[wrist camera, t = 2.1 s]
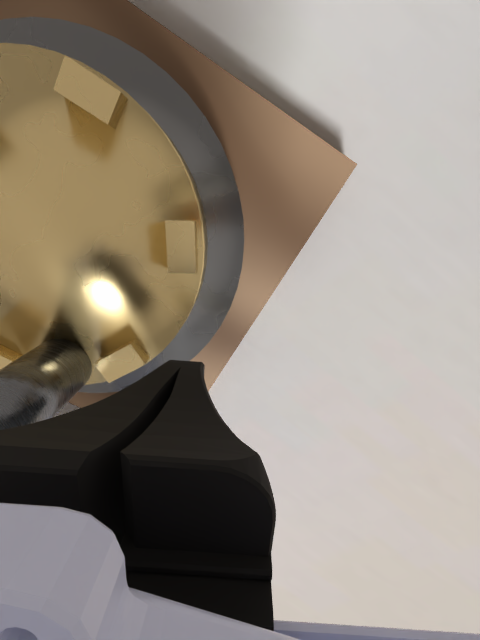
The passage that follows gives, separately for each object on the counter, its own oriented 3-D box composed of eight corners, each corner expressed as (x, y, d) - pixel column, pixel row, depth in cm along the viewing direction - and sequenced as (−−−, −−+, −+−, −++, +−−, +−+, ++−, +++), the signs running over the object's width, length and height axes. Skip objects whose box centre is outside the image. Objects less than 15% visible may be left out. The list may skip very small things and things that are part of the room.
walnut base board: (174, 434, 20) (169, 450, 18) (-113, 291, 17) (-146, 298, 16) (346, 169, 15) (357, 164, 13) (-25, -93, 12) (-61, -134, 11)
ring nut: (134, 409, 15) (59, 538, 9) (-112, 287, 14) (-408, 346, 7) (263, 186, 12) (281, 155, 6) (-43, -17, 10) (-480, -368, 4)
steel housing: (157, 421, 18) (150, 439, 16) (-109, 289, 16) (-146, 296, 14) (308, 177, 14) (315, 172, 12) (-30, -55, 11) (-69, -93, 10)
